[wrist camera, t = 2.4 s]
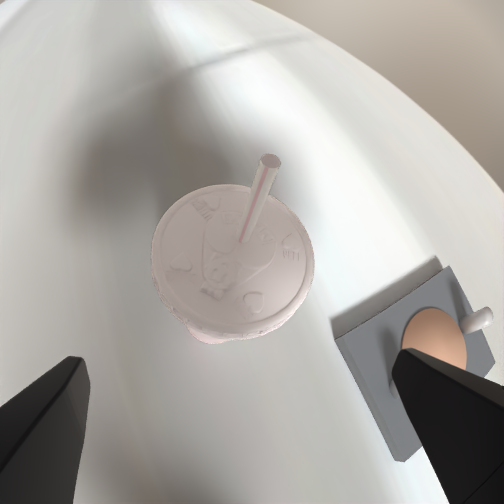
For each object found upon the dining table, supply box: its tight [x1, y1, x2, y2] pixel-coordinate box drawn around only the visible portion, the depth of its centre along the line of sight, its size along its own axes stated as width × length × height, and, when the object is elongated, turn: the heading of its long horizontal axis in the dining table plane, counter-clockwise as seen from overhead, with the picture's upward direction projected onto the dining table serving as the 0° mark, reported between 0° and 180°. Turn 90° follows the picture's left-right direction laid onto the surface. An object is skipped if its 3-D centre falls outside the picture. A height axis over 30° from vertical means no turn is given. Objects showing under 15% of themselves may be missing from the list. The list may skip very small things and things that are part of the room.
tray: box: [335, 266, 495, 462], centre depth 20 cm, size 14×11×4 cm
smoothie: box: [151, 154, 314, 344], centre depth 14 cm, size 6×6×14 cm
